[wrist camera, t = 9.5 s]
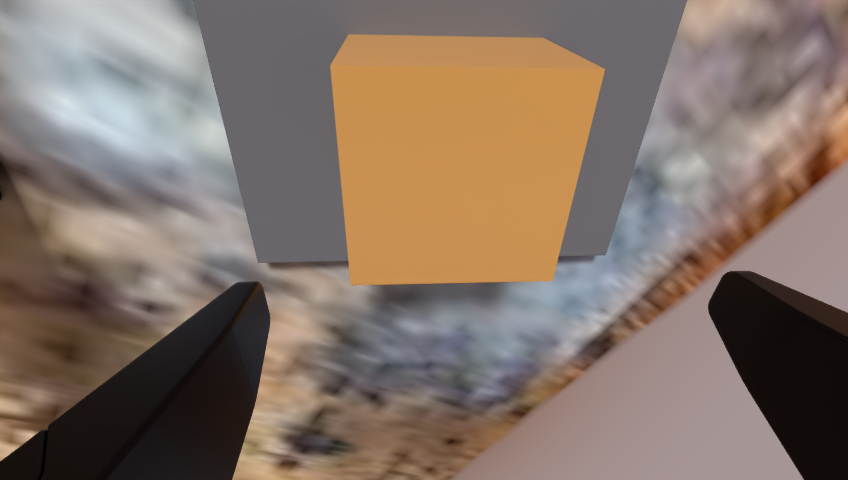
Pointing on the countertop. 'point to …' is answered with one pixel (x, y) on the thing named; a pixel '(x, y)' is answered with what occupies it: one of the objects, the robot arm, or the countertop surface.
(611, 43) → the post board
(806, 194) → the countertop surface
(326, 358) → the countertop surface
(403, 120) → the tan wooden cube
